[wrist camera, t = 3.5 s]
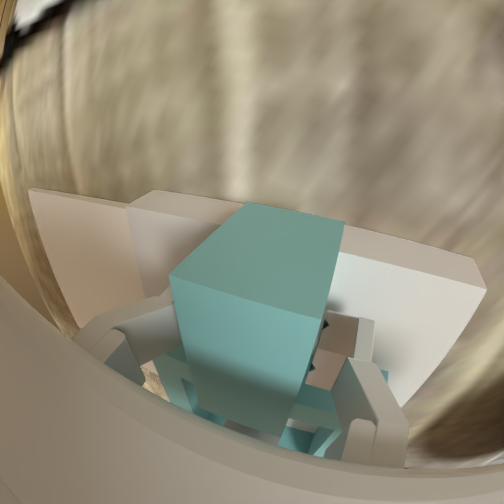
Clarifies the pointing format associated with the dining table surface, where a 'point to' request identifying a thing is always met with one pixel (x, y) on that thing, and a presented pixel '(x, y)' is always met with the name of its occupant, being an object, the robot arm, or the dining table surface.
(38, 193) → the mat
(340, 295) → the post stand
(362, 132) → the dining table surface
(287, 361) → the teal square ring handle
